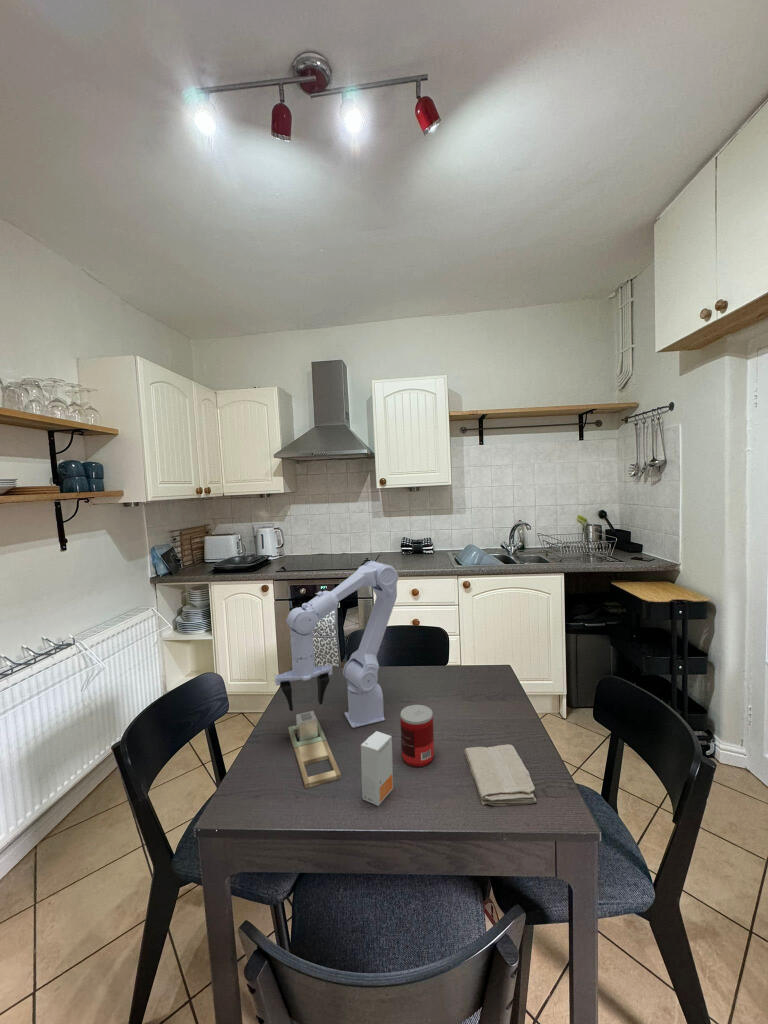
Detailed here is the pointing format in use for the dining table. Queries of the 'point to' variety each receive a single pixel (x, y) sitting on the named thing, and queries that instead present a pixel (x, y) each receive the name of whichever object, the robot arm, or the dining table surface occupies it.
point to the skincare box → (376, 768)
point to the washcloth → (500, 775)
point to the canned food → (417, 735)
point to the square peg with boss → (306, 726)
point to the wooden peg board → (314, 757)
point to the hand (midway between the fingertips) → (305, 705)
